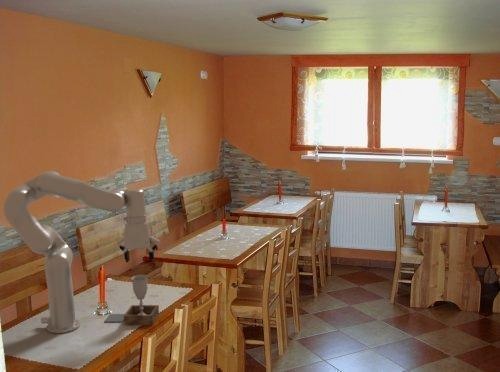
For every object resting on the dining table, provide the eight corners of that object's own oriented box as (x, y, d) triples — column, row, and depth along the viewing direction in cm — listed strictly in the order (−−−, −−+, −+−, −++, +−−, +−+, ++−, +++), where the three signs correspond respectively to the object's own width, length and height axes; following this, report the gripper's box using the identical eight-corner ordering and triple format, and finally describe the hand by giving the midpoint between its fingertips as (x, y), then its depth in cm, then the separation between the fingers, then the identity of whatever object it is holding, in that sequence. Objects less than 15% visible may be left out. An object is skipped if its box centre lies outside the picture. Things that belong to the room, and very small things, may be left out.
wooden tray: (124, 325, 228) (123, 315, 227) (132, 314, 239) (131, 305, 238) (152, 325, 227) (152, 315, 226) (159, 314, 238) (158, 305, 238)
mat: (104, 322, 231) (104, 321, 231) (110, 314, 239) (110, 314, 239) (123, 322, 231) (123, 321, 231) (128, 314, 238) (128, 313, 238)
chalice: (148, 322, 229) (146, 280, 227) (131, 323, 230) (129, 280, 227) (152, 316, 237) (149, 274, 234) (135, 316, 237) (133, 274, 234)
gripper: (112, 222, 223) (115, 264, 226) (155, 221, 222) (158, 263, 225) (118, 218, 231) (121, 258, 234) (159, 217, 230) (162, 258, 232)
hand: (139, 261), depth 229 cm, fingers open, 9 cm apart
